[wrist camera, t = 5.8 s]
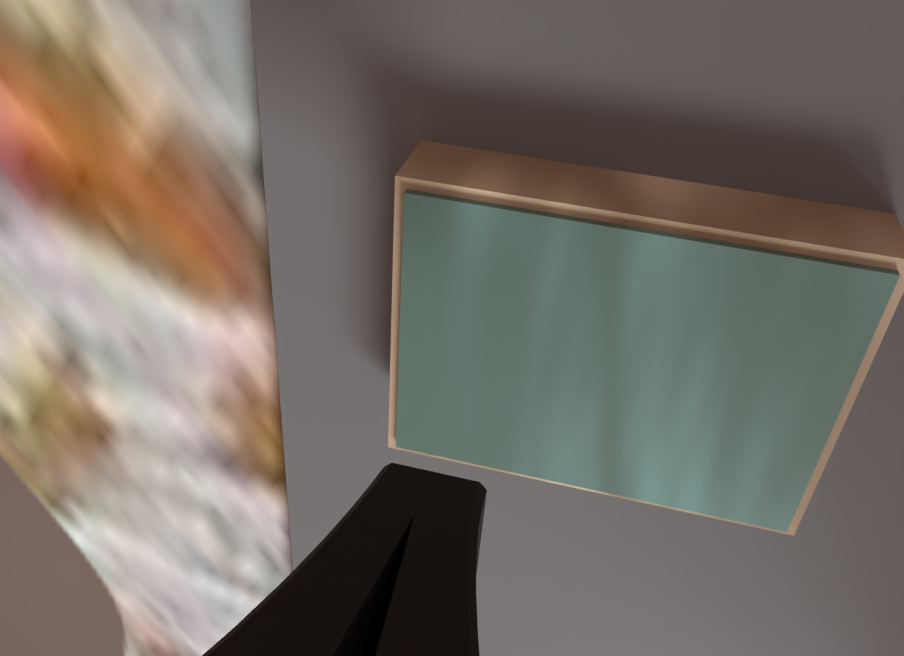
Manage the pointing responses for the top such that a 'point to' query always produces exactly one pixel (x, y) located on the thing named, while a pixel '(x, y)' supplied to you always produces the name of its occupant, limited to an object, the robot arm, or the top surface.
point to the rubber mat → (610, 147)
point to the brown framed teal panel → (632, 329)
